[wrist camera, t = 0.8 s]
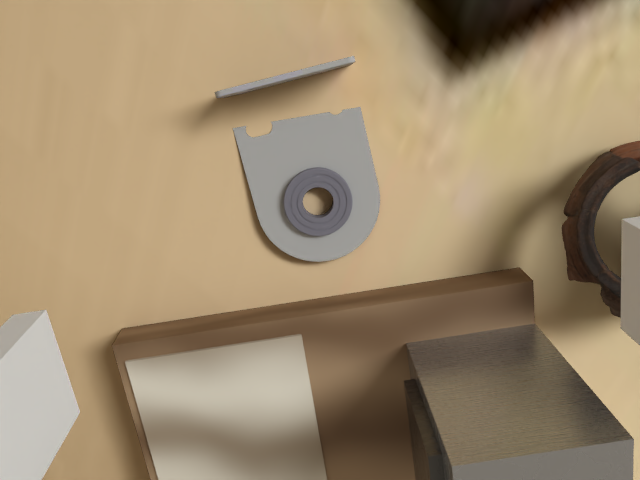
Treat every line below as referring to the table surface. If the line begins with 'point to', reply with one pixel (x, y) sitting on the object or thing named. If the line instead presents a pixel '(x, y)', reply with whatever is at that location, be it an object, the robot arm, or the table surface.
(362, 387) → the brown wooden flat board
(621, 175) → the pottery mug
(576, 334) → the table surface
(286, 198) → the bracket
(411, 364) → the grey box
